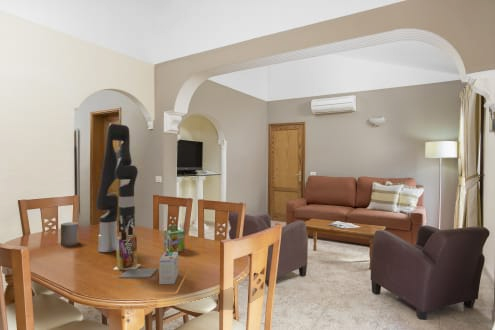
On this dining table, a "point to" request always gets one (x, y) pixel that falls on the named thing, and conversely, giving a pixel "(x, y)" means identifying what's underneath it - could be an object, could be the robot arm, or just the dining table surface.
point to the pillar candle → (69, 233)
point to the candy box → (126, 252)
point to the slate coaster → (138, 273)
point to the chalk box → (174, 240)
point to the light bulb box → (168, 268)
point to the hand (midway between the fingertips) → (127, 237)
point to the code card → (128, 268)
